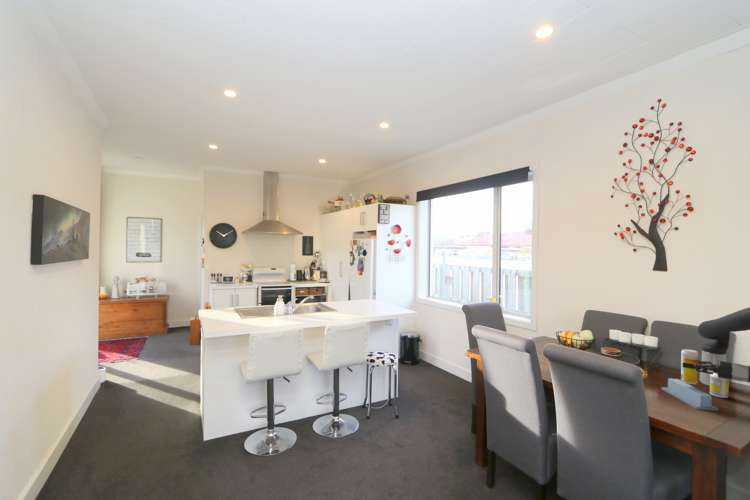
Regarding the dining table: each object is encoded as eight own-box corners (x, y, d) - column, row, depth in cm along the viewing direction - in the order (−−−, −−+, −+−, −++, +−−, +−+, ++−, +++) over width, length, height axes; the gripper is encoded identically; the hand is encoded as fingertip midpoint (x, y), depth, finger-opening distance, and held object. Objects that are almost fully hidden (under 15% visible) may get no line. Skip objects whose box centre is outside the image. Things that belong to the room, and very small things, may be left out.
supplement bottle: (723, 393, 176) (724, 368, 176) (731, 399, 170) (732, 372, 170) (706, 391, 179) (707, 366, 178) (713, 397, 172) (715, 370, 172)
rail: (661, 389, 181) (661, 377, 180) (680, 390, 180) (681, 378, 180) (696, 409, 159) (697, 395, 159) (718, 410, 158) (719, 397, 158)
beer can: (701, 385, 165) (701, 352, 165) (686, 384, 166) (686, 352, 166) (692, 380, 171) (692, 349, 171) (677, 379, 172) (678, 348, 172)
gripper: (730, 359, 165) (682, 352, 176) (734, 367, 154) (683, 358, 165) (730, 375, 165) (682, 367, 176) (734, 384, 154) (682, 374, 165)
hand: (682, 363), depth 170 cm, fingers closed on beer can, 5 cm apart
